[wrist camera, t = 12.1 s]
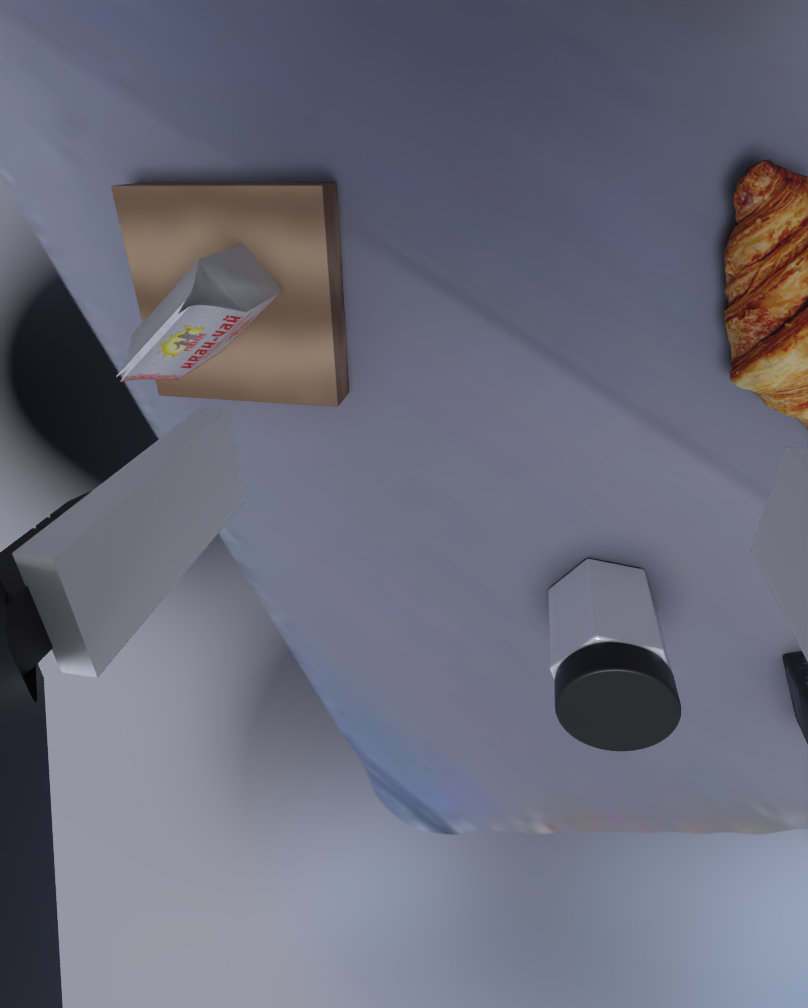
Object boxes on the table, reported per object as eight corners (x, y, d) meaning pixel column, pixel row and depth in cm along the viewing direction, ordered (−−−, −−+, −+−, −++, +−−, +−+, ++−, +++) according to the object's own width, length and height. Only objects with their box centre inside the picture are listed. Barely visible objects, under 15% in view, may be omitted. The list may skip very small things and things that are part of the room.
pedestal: (137, 183, 41) (111, 185, 38) (336, 182, 38) (321, 185, 36) (179, 382, 48) (159, 395, 45) (349, 392, 46) (337, 406, 43)
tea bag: (182, 310, 42) (91, 352, 33) (243, 243, 39) (160, 272, 30) (221, 352, 43) (142, 403, 34) (283, 291, 40) (213, 330, 31)
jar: (537, 624, 53) (537, 736, 43) (560, 550, 49) (564, 655, 39) (640, 645, 52) (664, 765, 42) (672, 572, 48) (707, 686, 38)
